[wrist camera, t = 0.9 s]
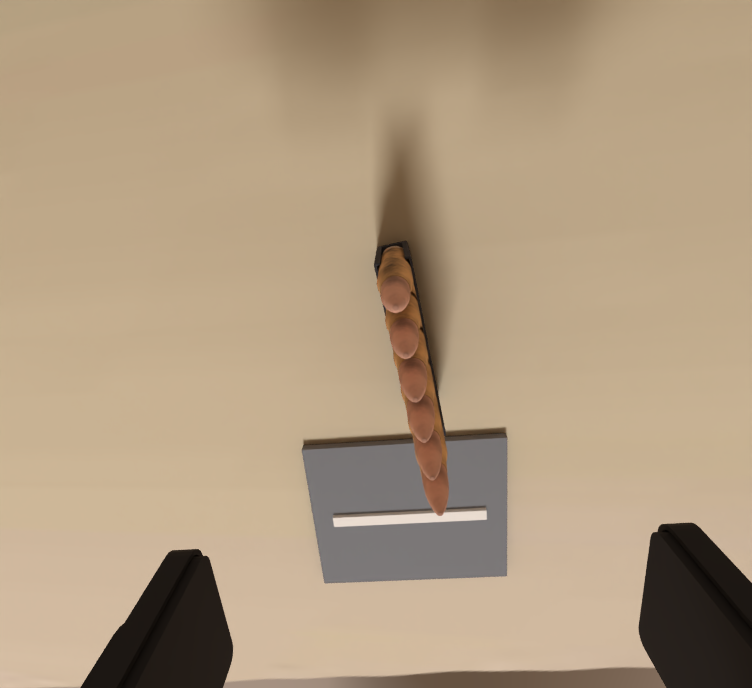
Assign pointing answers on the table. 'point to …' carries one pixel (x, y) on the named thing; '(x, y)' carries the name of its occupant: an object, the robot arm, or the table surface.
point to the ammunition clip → (414, 368)
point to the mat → (408, 510)
